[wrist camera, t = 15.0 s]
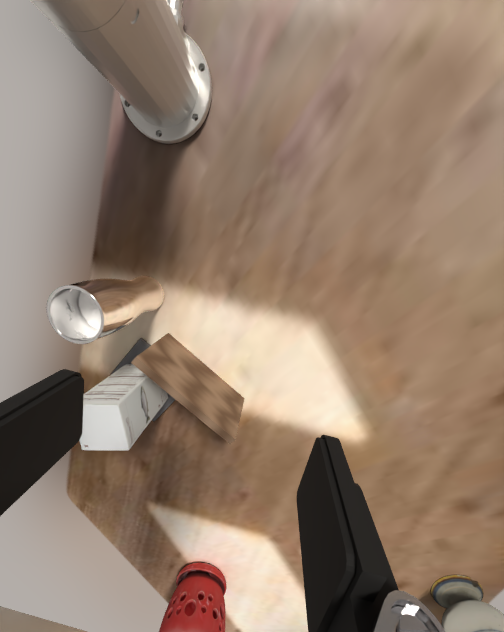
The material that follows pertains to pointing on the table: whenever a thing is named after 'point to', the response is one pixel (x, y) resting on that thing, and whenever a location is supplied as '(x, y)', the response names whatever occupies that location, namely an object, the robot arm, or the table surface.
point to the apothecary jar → (465, 606)
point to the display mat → (134, 352)
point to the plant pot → (197, 601)
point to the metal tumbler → (101, 306)
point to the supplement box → (119, 409)
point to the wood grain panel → (192, 385)
